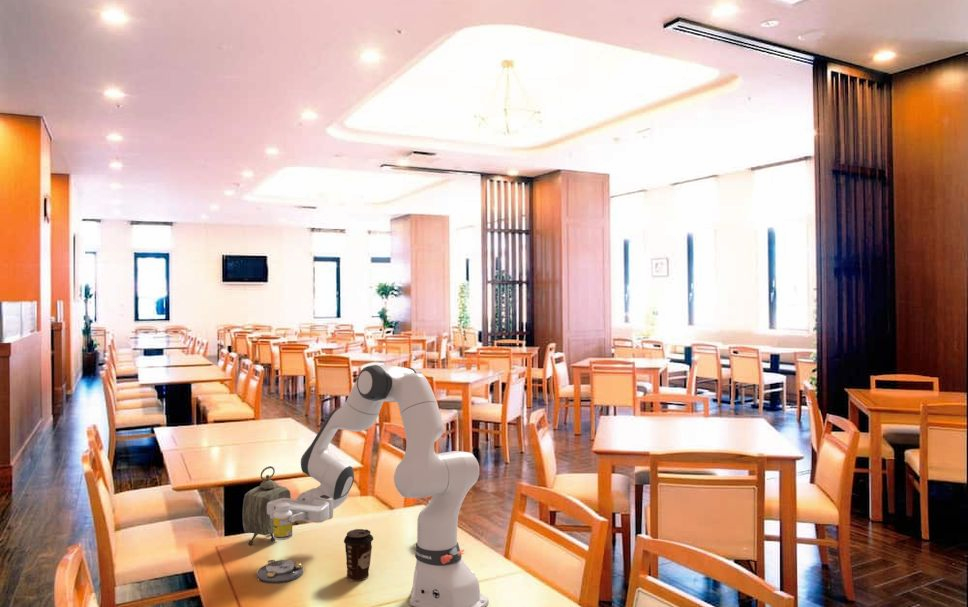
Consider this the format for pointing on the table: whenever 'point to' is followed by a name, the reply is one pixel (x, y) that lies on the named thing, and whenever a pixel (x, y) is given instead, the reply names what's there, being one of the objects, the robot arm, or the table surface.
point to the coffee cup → (358, 553)
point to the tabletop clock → (261, 507)
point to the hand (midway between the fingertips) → (281, 517)
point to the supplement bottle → (282, 522)
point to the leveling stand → (280, 571)
